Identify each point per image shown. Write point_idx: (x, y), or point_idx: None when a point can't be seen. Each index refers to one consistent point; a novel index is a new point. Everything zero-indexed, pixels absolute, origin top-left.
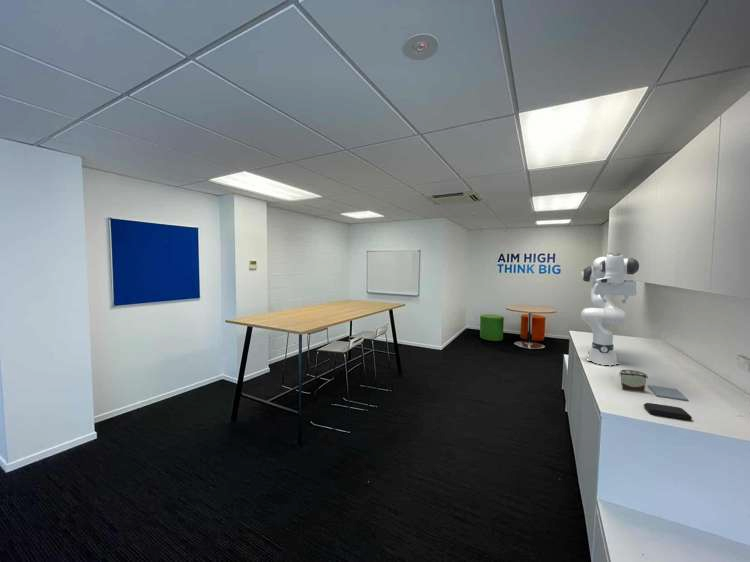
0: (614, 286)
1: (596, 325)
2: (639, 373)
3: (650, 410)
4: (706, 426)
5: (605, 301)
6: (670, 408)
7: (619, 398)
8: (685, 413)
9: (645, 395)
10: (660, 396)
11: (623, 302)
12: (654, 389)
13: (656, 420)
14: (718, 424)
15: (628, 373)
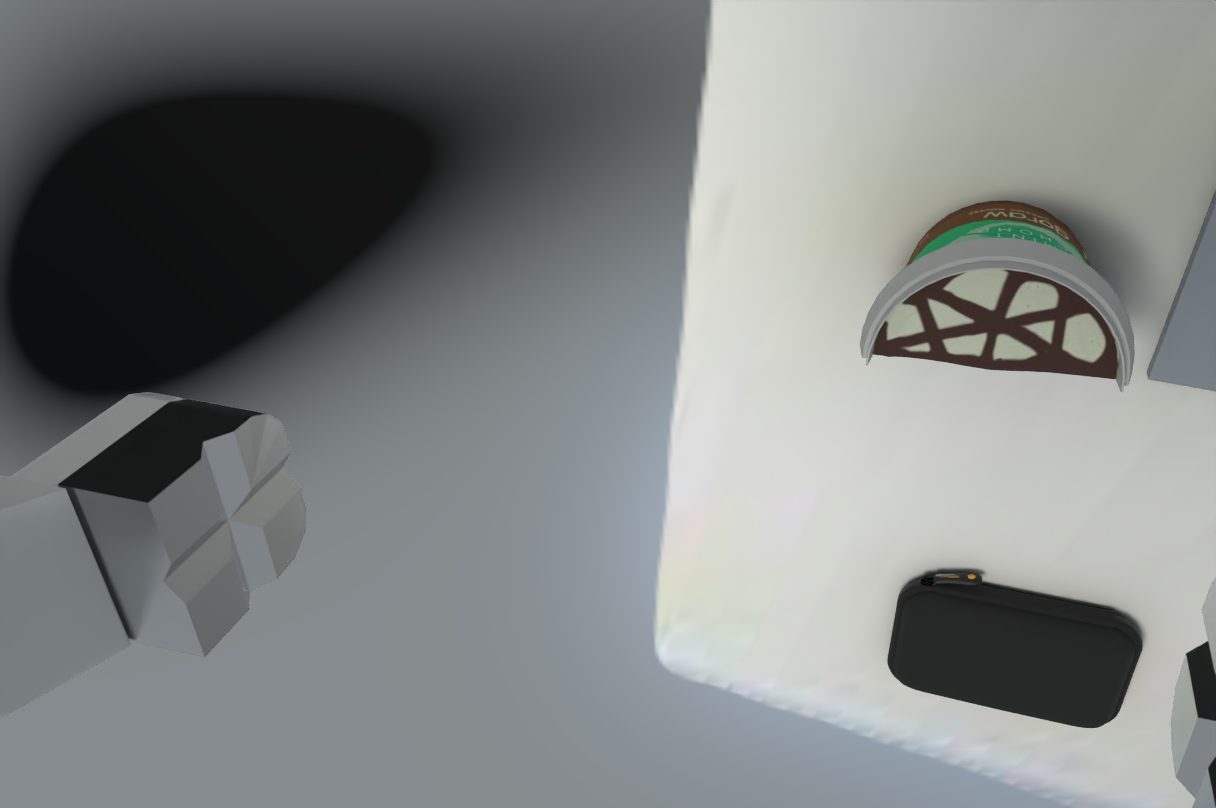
0: None
1: None
2: (1085, 313)
3: (894, 671)
4: (1148, 751)
5: (243, 566)
6: (1030, 672)
7: (800, 471)
8: (1083, 722)
9: None
10: (1176, 381)
11: (1211, 755)
12: None
13: (888, 714)
14: None
15: (947, 350)
